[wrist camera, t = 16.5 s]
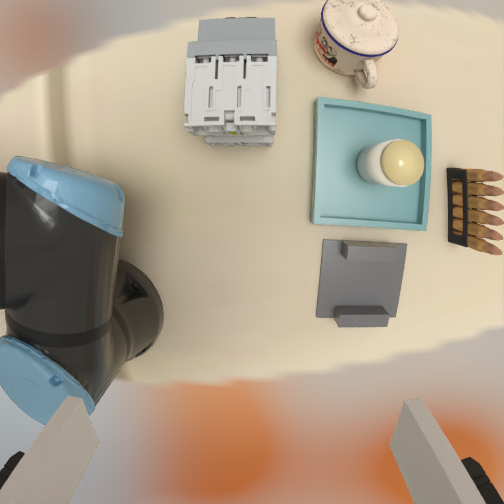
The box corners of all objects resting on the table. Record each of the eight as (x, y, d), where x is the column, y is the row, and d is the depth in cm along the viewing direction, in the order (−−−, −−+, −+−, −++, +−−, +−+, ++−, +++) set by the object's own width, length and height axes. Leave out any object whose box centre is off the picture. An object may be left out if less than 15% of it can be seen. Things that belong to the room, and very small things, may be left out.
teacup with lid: (303, 23, 35) (315, -21, 24) (365, 19, 34) (391, -20, 23) (326, 101, 37) (348, 75, 26) (389, 94, 37) (428, 71, 25)
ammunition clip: (446, 167, 38) (497, 168, 27) (456, 168, 38) (507, 168, 27) (447, 241, 41) (496, 262, 29) (457, 240, 41) (506, 260, 29)
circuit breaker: (272, 45, 36) (276, -14, 21) (271, 146, 39) (276, 128, 24) (215, 45, 36) (193, -11, 22) (212, 146, 39) (183, 129, 25)
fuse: (353, 182, 39) (381, 184, 29) (355, 143, 38) (382, 134, 28) (389, 186, 39) (424, 189, 29) (391, 148, 38) (426, 141, 28)
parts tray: (310, 221, 41) (313, 223, 39) (314, 101, 37) (317, 97, 35) (418, 228, 41) (426, 230, 38) (423, 117, 37) (431, 114, 35)
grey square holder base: (316, 316, 44) (319, 327, 40) (323, 239, 41) (328, 244, 38) (394, 316, 44) (403, 326, 40) (405, 243, 41) (416, 249, 38)
